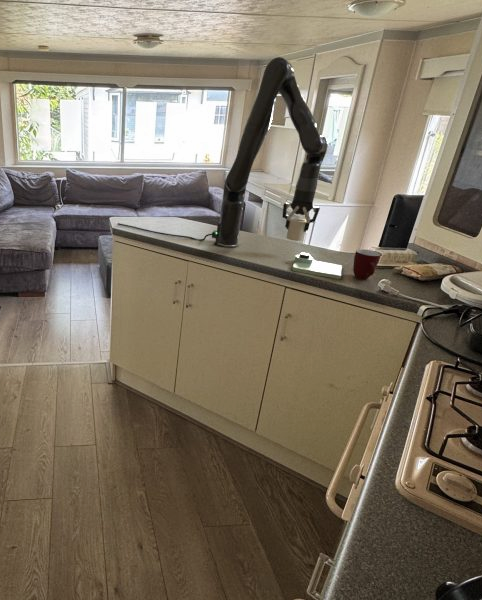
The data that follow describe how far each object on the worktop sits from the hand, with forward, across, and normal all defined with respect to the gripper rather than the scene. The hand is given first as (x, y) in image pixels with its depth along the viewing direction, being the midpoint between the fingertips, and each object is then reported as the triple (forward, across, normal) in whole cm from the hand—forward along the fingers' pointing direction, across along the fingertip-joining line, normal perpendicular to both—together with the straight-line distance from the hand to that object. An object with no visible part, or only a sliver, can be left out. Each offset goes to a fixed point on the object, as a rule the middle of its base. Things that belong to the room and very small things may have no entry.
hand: (296, 229), depth 178 cm
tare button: (+9, -6, +8) cm, 13 cm away
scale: (+12, -12, +12) cm, 20 cm away
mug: (+12, -28, +14) cm, 33 cm away
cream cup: (+4, 0, 0) cm, 4 cm away
